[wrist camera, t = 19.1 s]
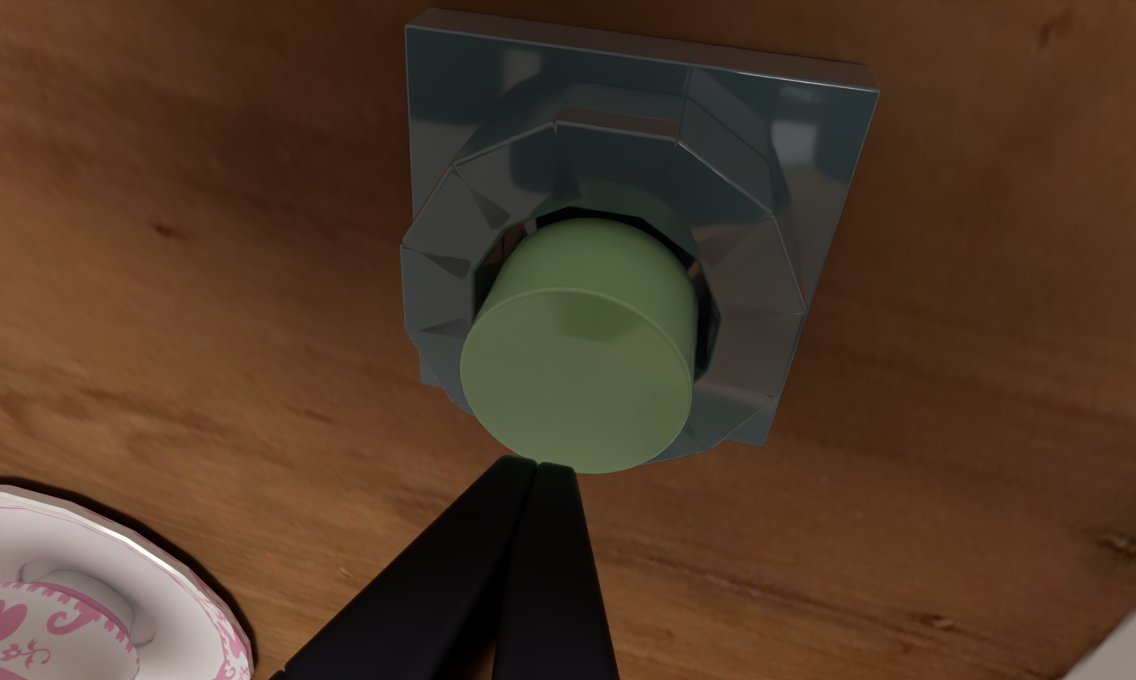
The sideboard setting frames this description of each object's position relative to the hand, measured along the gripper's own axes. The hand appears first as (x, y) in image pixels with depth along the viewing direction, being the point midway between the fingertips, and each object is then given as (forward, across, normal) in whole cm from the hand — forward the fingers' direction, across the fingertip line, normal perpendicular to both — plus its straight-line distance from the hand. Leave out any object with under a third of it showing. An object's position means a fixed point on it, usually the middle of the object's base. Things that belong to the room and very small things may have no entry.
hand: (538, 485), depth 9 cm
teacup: (+7, +16, +17) cm, 24 cm away
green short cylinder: (+4, 0, 0) cm, 4 cm away
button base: (+6, 0, 0) cm, 7 cm away
